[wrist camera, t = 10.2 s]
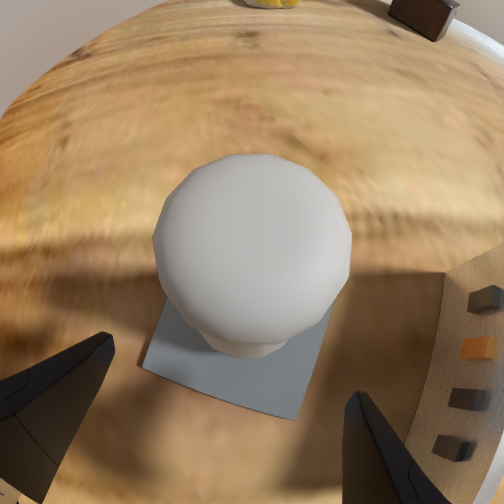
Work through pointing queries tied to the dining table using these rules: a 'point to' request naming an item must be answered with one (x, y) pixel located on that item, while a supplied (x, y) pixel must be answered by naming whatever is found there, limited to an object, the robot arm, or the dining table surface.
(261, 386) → the slate pad
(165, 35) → the dining table surface
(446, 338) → the breaker panel
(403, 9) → the manual coffee grinder
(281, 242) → the salt shaker
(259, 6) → the bread roll
